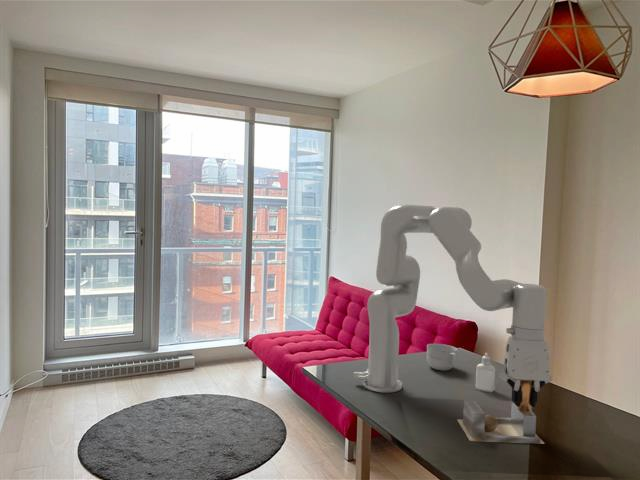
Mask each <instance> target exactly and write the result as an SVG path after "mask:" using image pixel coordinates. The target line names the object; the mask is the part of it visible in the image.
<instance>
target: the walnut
mask: <svg viewBox="0 0 640 480" xmlns="http://www.w3.org/2000/svg"><path fill="white" fill-rule="evenodd" d="M495 417H496V416H494V415H492V414H485V426H484V429H485V430H487V431H494V430H495V429H496V428H497V425H498V423H497V420H496V418H495Z"/></svg>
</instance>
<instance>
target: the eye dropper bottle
mask: <svg viewBox="0 0 640 480" xmlns="http://www.w3.org/2000/svg"><path fill="white" fill-rule="evenodd" d="M481 359H482V360H481V363H478V364H477V365H476V371H475V389H476V390H478V391H482V392H486V393H492V392H494V390H495V381H496V379H495V378H496V368H495V366H493V365H492V364H491V357H490V356H489V353H487V352H485V353H484V355H483V356H482V357H481Z"/></svg>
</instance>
